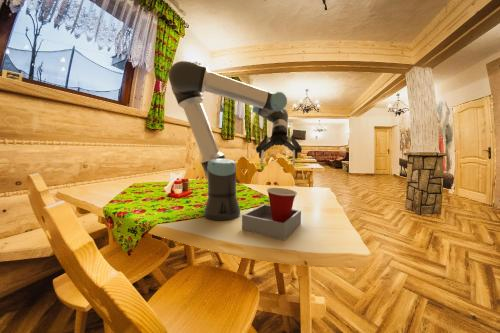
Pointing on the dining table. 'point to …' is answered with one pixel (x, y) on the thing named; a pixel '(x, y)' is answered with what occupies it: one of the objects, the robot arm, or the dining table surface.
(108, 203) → the dining table surface
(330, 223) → the dining table surface
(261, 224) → the bin
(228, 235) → the dining table surface
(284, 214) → the plastic cup
